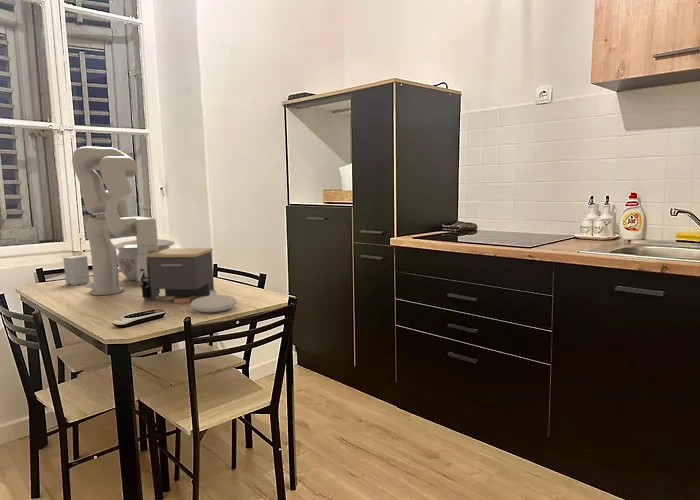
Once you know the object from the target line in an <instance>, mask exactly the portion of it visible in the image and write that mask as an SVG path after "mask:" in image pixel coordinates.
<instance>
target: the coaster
mask: <svg viewBox="0 0 700 500" xmlns="http://www.w3.org/2000/svg"><path fill="white" fill-rule="evenodd" d="M191 302H192V300H191V297H190V296H179V297H175V298H174V300H173V304H175V305H186V304H189V303H190V304H191Z"/></svg>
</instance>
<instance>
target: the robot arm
mask: <svg viewBox="0 0 700 500" xmlns="http://www.w3.org/2000/svg"><path fill="white" fill-rule="evenodd" d="M71 164H72V168H73V172H74V173H75V175H76V177H77V180H78V182H79V185H80V189H81V195H82V199H83V200H82V201H83V203H84V207H85V210H86V211H87V213H89V214H91V215H92V214H93V215H102V214H104V216H97V217H94V218H91V219H89V220H87V222H86V224H85V231H86V235H87V239H88V242H89V247H90V256H91V257H90V258H91V266H92V275H93V276H92V279H93V281H91V282H89V283H86V286H85V287H86V288H87V289H88V288H89V289H90V288H91V290H89V292H90V295H93V296H108V295H109V296H110V295H114V294H118V293H121V292H123V291H124V290H125V288H124V287H123V286H120V279H119V266H118V263H117V255H118V253H117V249H116V248H115V246H114V245H115V244H114V243H113V242H112V240H113V239H122V238H130V237H135V240H136V241H137V252H138V255H137V279H138V281H137V282H138V283H139V285H140V289H141V294H142V298H143V299H144V298H150V297H151V290H150V287H149V284H150V269H149V257H147V254H150V253H154V252H157V251H158V240H157V239H158V230H157V220H156V219H155V218H153V217H143V216H131V217H130V215H129V210H128V207H127V206H128V205H127V203H126V199H127V198H128V197H129V196H131V194H132V192H133V190H132V187H131V185H130V182H129V180H128V178H134V177H135V176H136V175H137V172H138V166H137V163H136V162H135V160H134V159H133V158H132V157H131V156H129V155H128V154H126V153H124V152H123V151H121V150H119V149H117V148H113V147H105V146H104V147H103V146H81V147H77V148H76V149H75V150H74V151H73V154H72V158H71ZM94 169H99V171H100V172H99V173H100V174H99V173H97V171H96V170H94ZM100 175H101V176H100ZM105 188H106V189H105ZM145 278H146V279H145ZM144 281H147V284H146V282H144ZM158 290H159V294H160V293H161V289H158Z"/></svg>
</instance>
